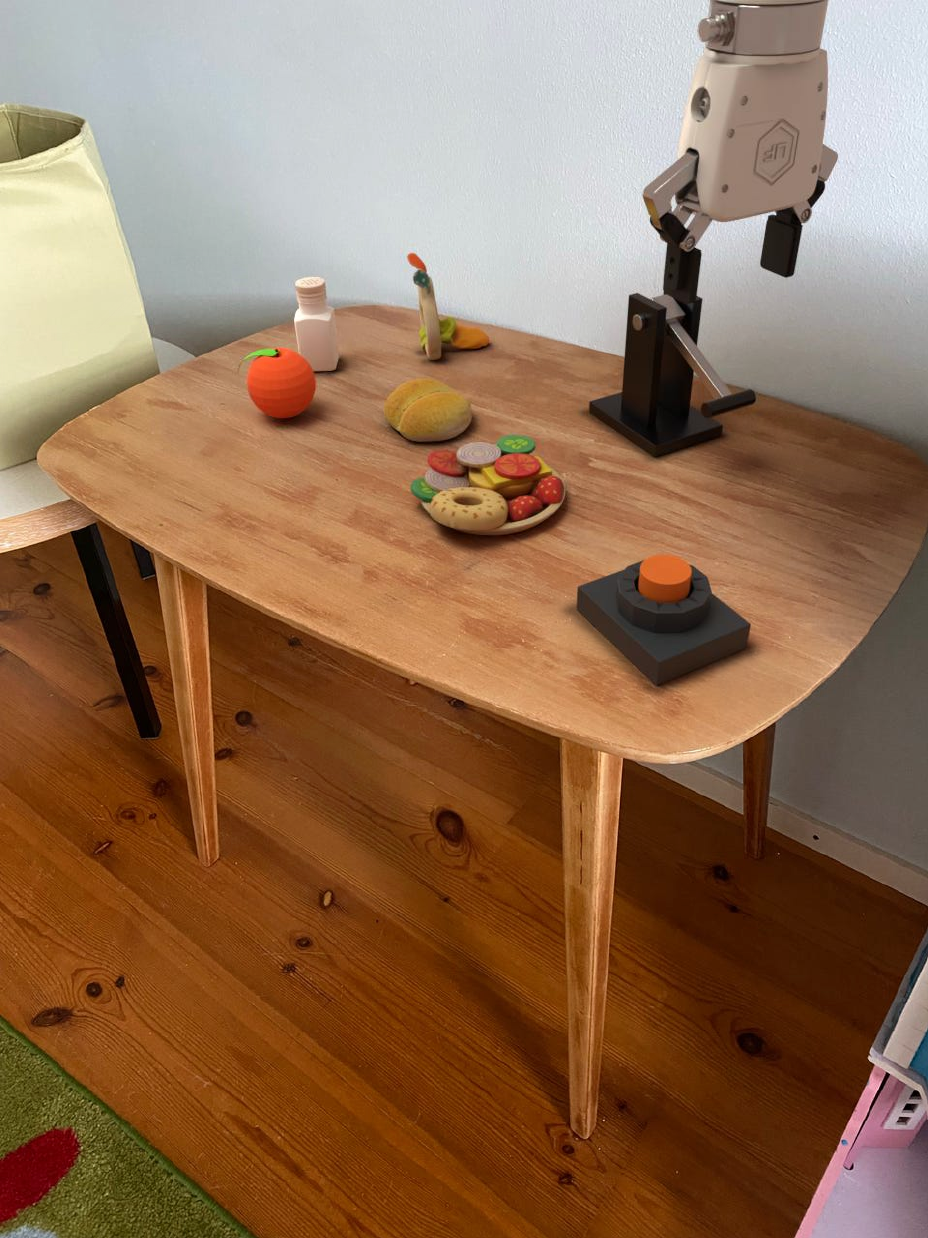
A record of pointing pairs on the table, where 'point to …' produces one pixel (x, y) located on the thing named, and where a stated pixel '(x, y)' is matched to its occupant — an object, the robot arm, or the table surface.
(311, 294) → the salt shaker
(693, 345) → the lever
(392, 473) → the table surface
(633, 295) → the bracket
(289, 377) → the clementine
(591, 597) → the control block
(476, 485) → the toy food set
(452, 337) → the rattle
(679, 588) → the button
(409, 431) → the bread roll
